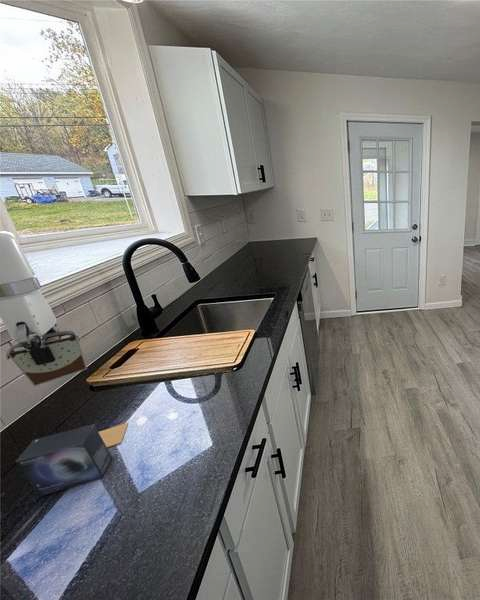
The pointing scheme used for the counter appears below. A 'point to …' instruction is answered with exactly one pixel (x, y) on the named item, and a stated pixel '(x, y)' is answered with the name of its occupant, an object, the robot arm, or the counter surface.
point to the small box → (65, 459)
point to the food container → (64, 352)
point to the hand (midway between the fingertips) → (52, 355)
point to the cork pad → (113, 435)
